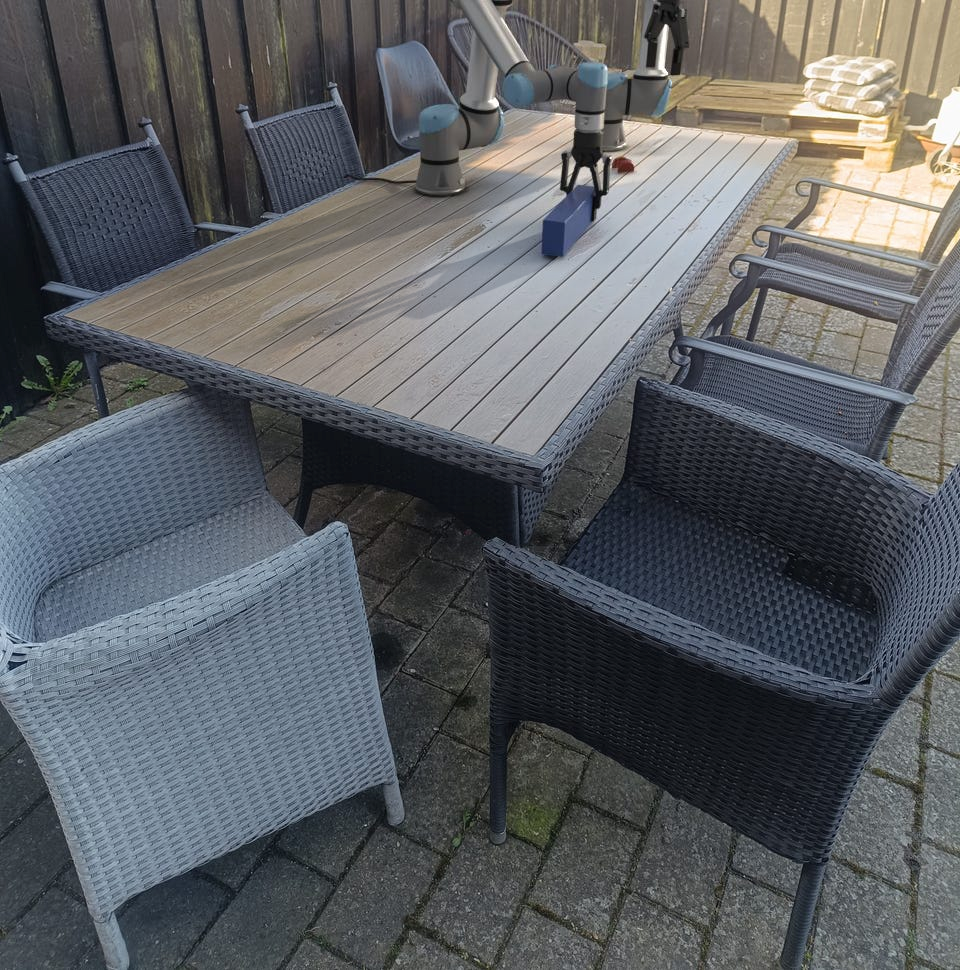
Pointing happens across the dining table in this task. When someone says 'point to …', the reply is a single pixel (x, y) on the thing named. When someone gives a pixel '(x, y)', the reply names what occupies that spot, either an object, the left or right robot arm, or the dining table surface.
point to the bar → (567, 221)
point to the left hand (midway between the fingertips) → (582, 218)
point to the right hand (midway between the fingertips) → (662, 71)
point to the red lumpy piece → (623, 164)
